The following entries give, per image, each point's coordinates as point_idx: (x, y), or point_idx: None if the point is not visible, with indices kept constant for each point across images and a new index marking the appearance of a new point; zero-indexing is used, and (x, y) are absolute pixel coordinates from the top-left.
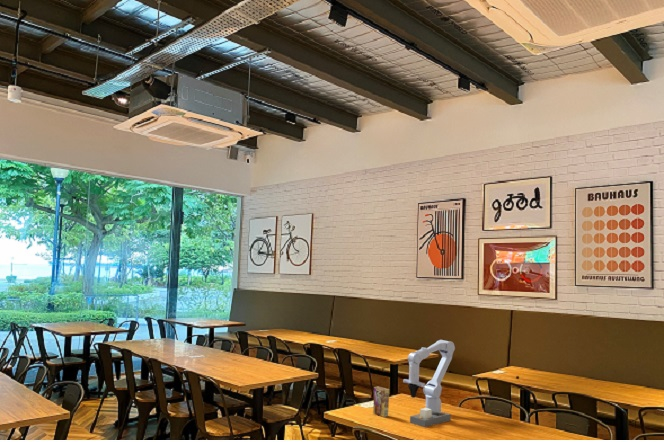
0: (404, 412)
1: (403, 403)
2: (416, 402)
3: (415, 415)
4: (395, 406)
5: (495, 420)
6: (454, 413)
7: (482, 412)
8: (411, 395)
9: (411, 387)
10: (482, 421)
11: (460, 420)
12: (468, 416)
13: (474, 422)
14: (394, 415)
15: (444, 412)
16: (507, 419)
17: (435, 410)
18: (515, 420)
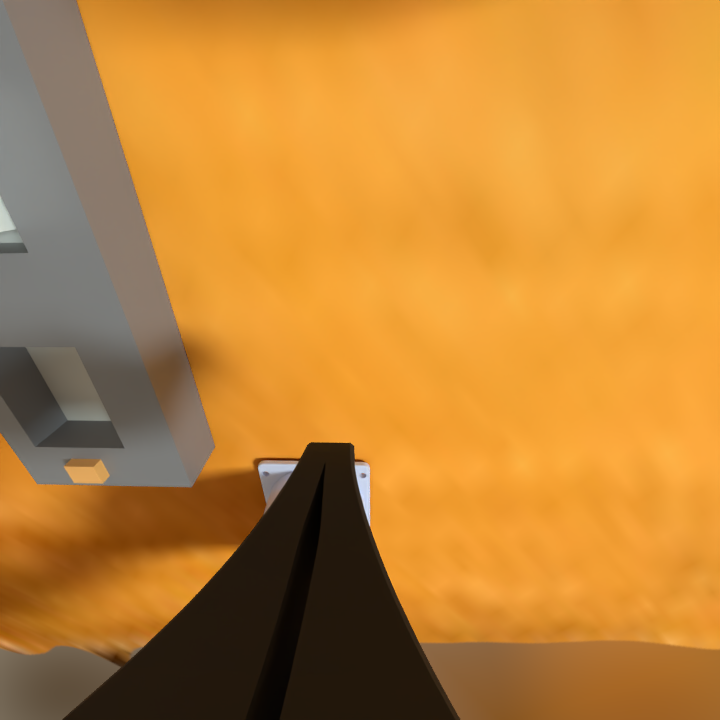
0: (462, 329)
1: (623, 525)
2: (554, 589)
3: (11, 67)
4: (647, 421)
5: (44, 603)
6: None
7: None
8: (339, 464)
9: (243, 703)
10: (31, 558)
11: (72, 493)
12: (149, 575)
13: (13, 518)
14: (466, 92)
15: (73, 475)
16: (55, 638)
17: (187, 478)
18: (34, 644)
